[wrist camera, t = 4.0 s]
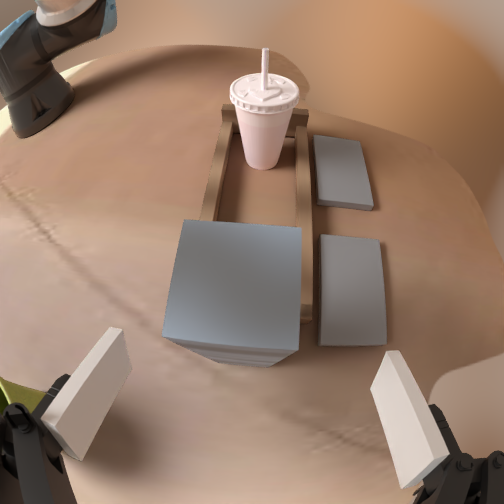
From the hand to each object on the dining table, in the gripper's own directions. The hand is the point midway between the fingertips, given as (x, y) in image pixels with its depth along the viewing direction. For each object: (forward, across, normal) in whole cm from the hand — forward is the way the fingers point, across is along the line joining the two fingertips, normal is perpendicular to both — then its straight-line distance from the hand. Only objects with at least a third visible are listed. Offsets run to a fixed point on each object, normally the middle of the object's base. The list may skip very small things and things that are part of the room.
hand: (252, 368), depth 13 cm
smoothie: (+23, -1, +9) cm, 24 cm away
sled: (+17, -1, +4) cm, 17 cm away
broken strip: (+17, +8, +4) cm, 19 cm away
